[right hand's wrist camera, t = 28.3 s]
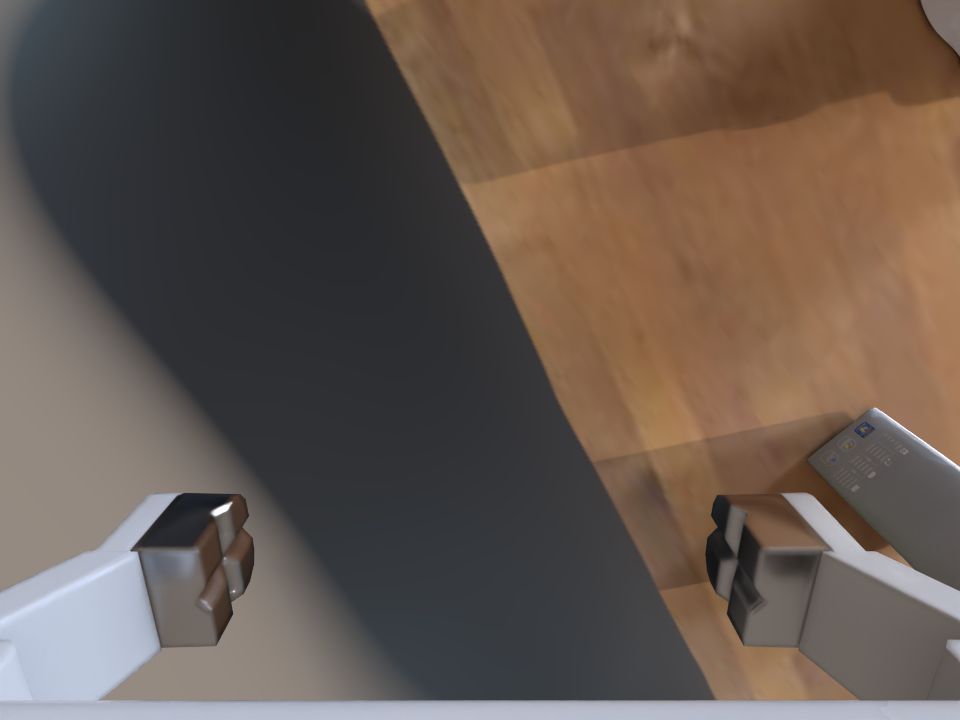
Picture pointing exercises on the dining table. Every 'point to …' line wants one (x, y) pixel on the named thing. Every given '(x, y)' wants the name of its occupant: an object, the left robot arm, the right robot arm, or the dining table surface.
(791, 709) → the right robot arm
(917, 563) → the hard drive box
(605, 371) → the dining table surface
